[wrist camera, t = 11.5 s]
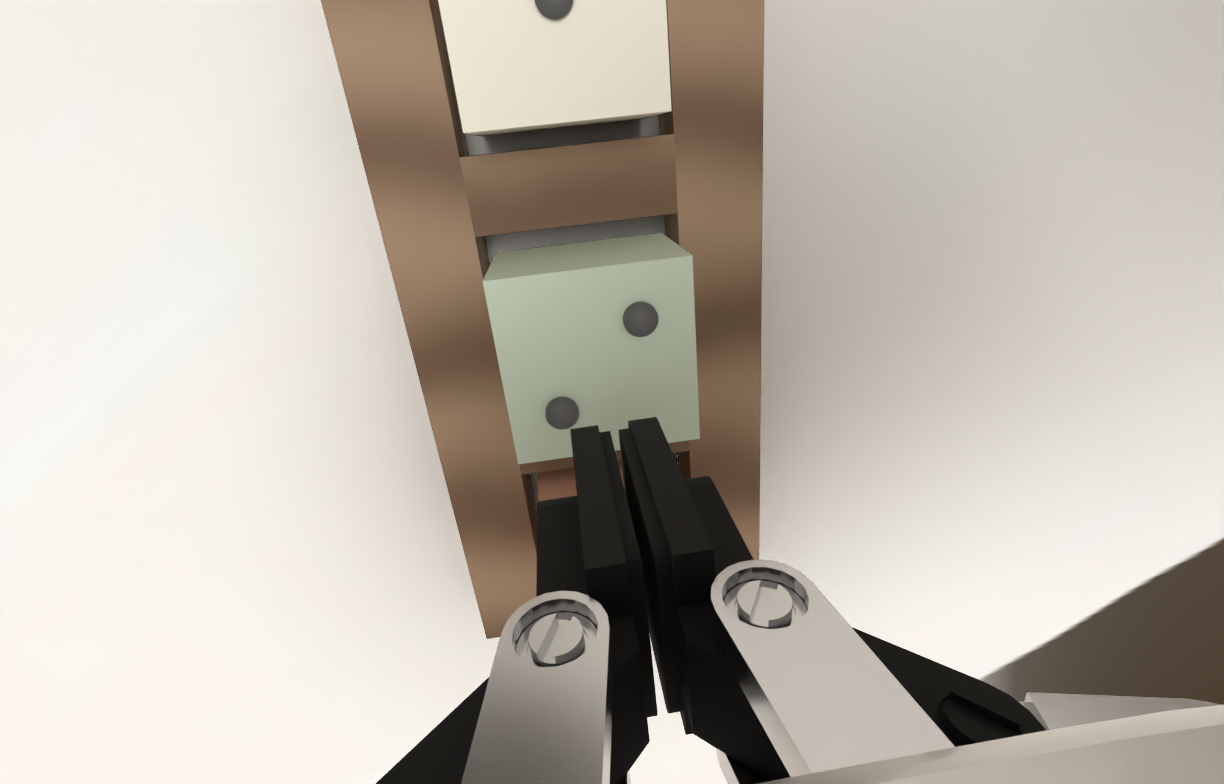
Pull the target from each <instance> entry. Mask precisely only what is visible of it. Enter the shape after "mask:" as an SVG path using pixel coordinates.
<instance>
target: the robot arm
mask: <svg viewBox="0 0 1224 784" xmlns="http://www.w3.org/2000/svg"><path fill="white" fill-rule="evenodd" d="M570 433H571V442H572V452H573V462H574V471H575V481H576V491H577V496H570V497H563V498H557V499H550V500H543V501H538V506H537V583H536V597H535V598H533V599H530V600H529V601H527V602H526V603H525V604H523V605H522V606H520V607H519V608H517V610H516V611H515V612H514V613H513V614H512V615H511V616H510V617H509V619H508V620H507V622H506V624H505V626H504V628H503V631H502V633H501V636H500V640H499V644H498V647H497V651H496V655H495V659H494V662H493V666H492V670H491V674H490V677H489V678H488V679H486V680H485V681H484V682H483V683H482V684H481V685H480V686H479V687H478V688H477V689H476V690H475V691H474V692H473V693H472V694H471V695H469V696H468V697H467V698H466V699H465V700H464V701H463V702H462V703H461V704H460V705H459V706H458V707H457V708H456V709H455V710H454V711H452V712H451V713H450V714H449V715H448V716H447V717H446V718H445V719H444V720H443V721H442V722H441V723H440V724H439V725H438V726H437V727H435V728H434V729H433V730H432V731H431V732H430V733H429V734H428V735H427V736H426V737H425V738H424V739H423V740H422V741H421V742H419V743H418V744H417V745H416V746H415V747H414V748H413V749H412V750H411V751H410V752H409V753H408V754H407V755H406V756H405V757H404V758H402V759H401V760H400V761H399V762H398V763H397V764H396V765H395V766H394V767H393V768H392V769H391V770H390V771H389V772H388V773H387V774H385V775H384V776H383V777H382V778H381V779H380V780H379V781H378V782H377V783H376V784H631V781H630V774H629V769H630V768H631V767H632V765H633V764H634V762H635V761H636V760H637V758H638V757H639V755H640V754H641V752H642V751H643V750H644V748H645V747H646V745H647V744H648V743H649V733H648V724H647V717H651V716H657V705H656V695H655V685H654V675H653V665H652V655H651V645H650V637H651V642H652V646H653V651H654V655H655V660H656V664H657V669H658V673H659V677H660V682H661V686H662V691H663V695H664V700H665V704H666V708H667V712H668V713H674V712H679V711H680V713H681V717H682V721H683V725H684V729H685V733H686V734H692V733H693V734H695V735H696V736H698V737H699V738H701V739H703V740H704V741H706V742H707V743H709V744H711V745H712V746H714V747H715V748H717V756H718V760H719V764H720V767H721V770H722V772H723V774H724V776H725V779H726V781H727V783H728V784H1224V705H1218V704H1215V703H1210V702H1204V701H1198V700H1192V699H1176V698H1151V697H1127V696H1101V695H1075V694H1052V693H1027V695H1026V698H1025V702H1018V701H1016V700H1015V699H1014V698H1013V697H1011V696H1010V695H1008V694H1007V693H1005V692H1003V691H1001V690H999V689H997V688H995V687H993V686H991V685H989V684H987V683H985V682H982V681H980V680H978V679H975V678H973V677H971V676H968V675H966V674H963V673H961V672H958V671H956V670H954V669H951V668H949V667H946V666H944V665H942V664H939V663H937V662H934V661H932V660H930V659H927V658H925V657H922V656H920V655H917V654H915V653H913V652H910V651H908V650H905V649H903V648H901V647H898V646H896V645H893V644H891V643H889V642H886V641H884V640H881V639H879V638H876V637H874V636H872V635H869V634H867V633H864V632H862V631H860V630H857V629H855V628H852V627H851V626H850V625H849V624H848V623H847V622H846V620H845V619H844V618H843V617H842V616H841V615H840V613H839V612H838V611H837V610H836V609H835V608H834V607H833V605H832V604H831V603H830V602H829V601H828V600H827V598H826V597H825V596H824V595H823V594H822V593H821V592H820V590H819V589H818V588H817V587H816V586H815V585H814V583H813V582H812V581H811V580H809V579H808V578H807V577H806V576H805V575H804V574H803V573H801V572H800V571H798V570H796V569H794V568H792V567H790V566H788V565H786V564H782V563H778V562H775V561H771V560H754V559H753V557H752V555H751V554H750V552H749V550H748V548H747V546H746V544H745V542H744V540H743V538H742V536H741V534H740V532H739V530H738V529H737V527H736V525H735V523H734V521H733V519H732V517H731V515H730V513H729V511H728V509H727V507H726V505H725V504H724V502H723V500H722V498H721V496H720V494H719V492H718V490H717V488H716V486H715V484H714V482H713V481H712V479H711V478H710V477H709V476H703V477H696V478H690V479H683V476H682V474H681V472H680V469H679V467H678V465H677V462H676V460H675V458H674V455H673V453H672V451H671V449H670V446H669V444H668V442H667V439H666V437H665V435H664V432H663V430H662V428H661V426H660V423H659V421H658V419H657V417H652V418H645V419H637V420H630V421H628V428H626V429H619V442H620V451H621V461H622V470H623V479H624V485H623V481H622V477H621V473H620V469H619V465H618V461H617V457H616V453H615V449H614V445H613V441H612V437H611V433H610V431H605V432H599V428H598V425H595V426H588V427H581V428H574V429H570ZM624 488H625V490H624ZM649 633H650V635H649Z"/></svg>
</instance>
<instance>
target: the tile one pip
mask: <svg viewBox="0 0 1224 784" xmlns="http://www.w3.org/2000/svg"><path fill="white" fill-rule="evenodd" d="M438 2H439V8H440V13H441V18H442V24H443V29H444V34H445V40H446V45H447V50H448V55H449V61H450V66H451V71H452V77H453V82H454V87H455V92H456V98H457V103H458V108H459V114H460V119H461V124H462V130H463V133H465V134H471V135H477V136H486V135H495V134H505V133H514V132H523V131H533V130H542V129H551V128H561V127H570V126H579V125H588V124H598V123H607V122H616V121H626V120H635V119H644V118H648V117H652V116H655V115H659V114H662V113H666V112H669V111H672V109H671V89H670V70H669V50H668V30H667V10H666V0H438Z"/></svg>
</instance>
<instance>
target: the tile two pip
mask: <svg viewBox="0 0 1224 784" xmlns="http://www.w3.org/2000/svg"><path fill="white" fill-rule="evenodd" d="M483 286H484V292H485V297H486V302H487V307H488V312H489V317H490V322H491V327H492V333H493V338H494V343H495V348H496V353H497V358H498V363H499V368H500V374H501V379H502V384H503V389H504V394H505V399H506V404H507V409H508V415H509V420H510V425H511V430H512V435H513V440H514V445H515V450H516V456H517V461H518V464H525V463H532V462H539V461H546V460H553V459H560V458H567V457H573V452H572V442H571V433H570V429H574V428H581V427H588V426H595V425H598V428H599V432H605V431H610V433H611V437H612V441H613V445H614V449H615V451H616V450H620V442H619V429H626V428H628V421H630V420H637V419H645V418H652V417H657V419H658V421H659V423H660V426H661V428H662V430H663V432H664V435H665V437H666V439H667V442H668V443H673V442H680V441H687V440H694V439H700V428H699V403H698V379H697V354H696V329H695V305H694V280H693V256H692V255H691V254H690V253H688V252H687V251H686V250H684V249H683V248H682V247H680V246H679V245H678V244H676V243H675V242H674V241H672V240H671V239H669V238H668V237H667V236H665V235H664V234H663V233H653V234H645V235H636V236H628V237H619V238H611V239H603V240H594V241H586V242H578V243H569V244H561V245H553V246H544V247H536V248H527V249H519V250H511V251H502V252H496V253H495V256H494V258H493V260H492V262H491V264H490V266H489V268H488V271H487V273H486V275H485V277H484V279H483Z"/></svg>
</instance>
